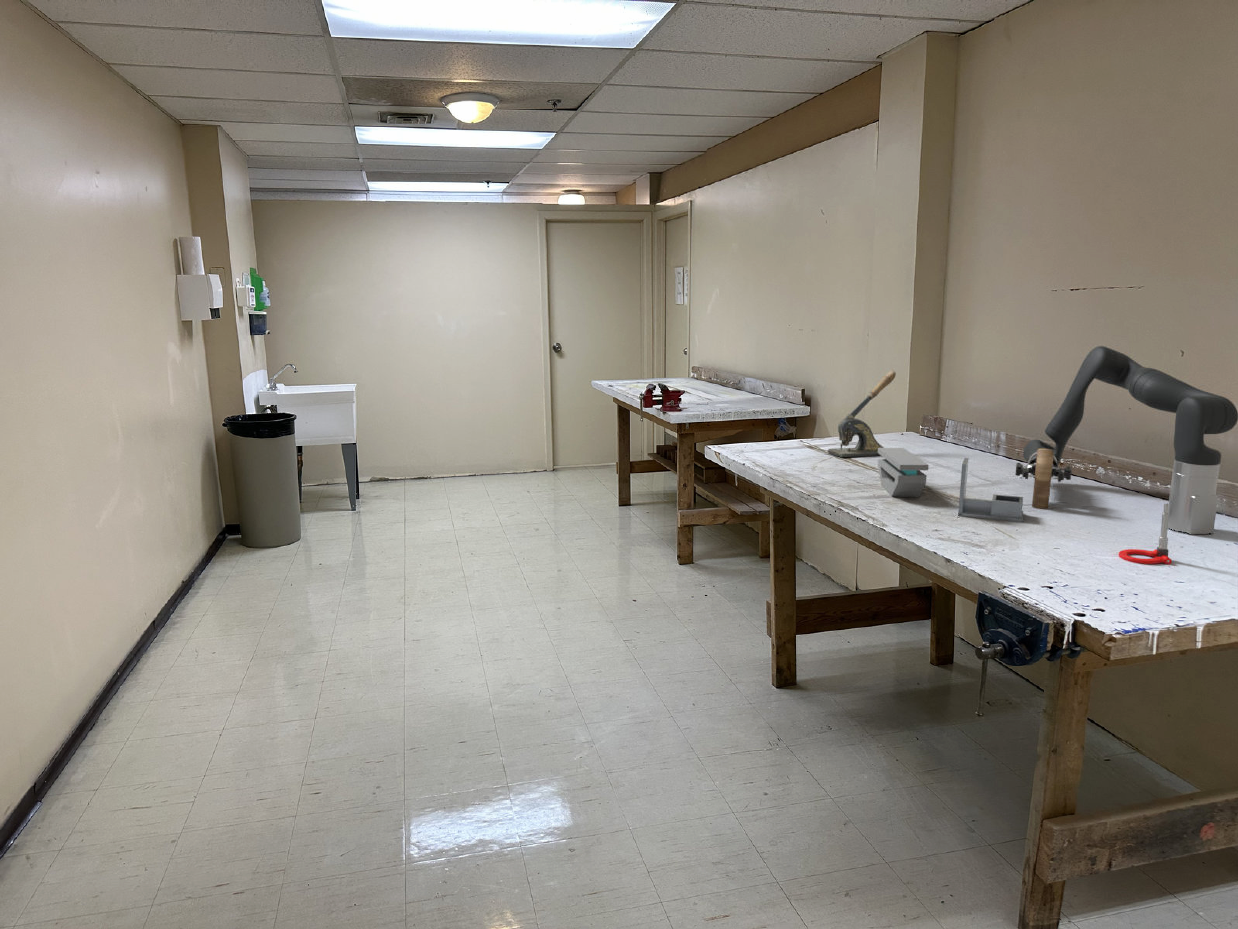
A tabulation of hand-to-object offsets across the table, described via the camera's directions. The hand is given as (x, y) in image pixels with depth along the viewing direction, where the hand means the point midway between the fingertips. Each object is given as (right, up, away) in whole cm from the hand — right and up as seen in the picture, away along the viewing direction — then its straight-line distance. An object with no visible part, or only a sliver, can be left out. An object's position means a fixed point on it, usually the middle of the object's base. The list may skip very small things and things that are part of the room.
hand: (1043, 476), depth 223 cm
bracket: (-16, -10, -3) cm, 19 cm away
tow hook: (+2, -18, -39) cm, 43 cm away
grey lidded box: (-31, -5, +22) cm, 39 cm away
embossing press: (-26, +7, +78) cm, 82 cm away
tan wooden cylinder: (+1, -8, +4) cm, 9 cm away
